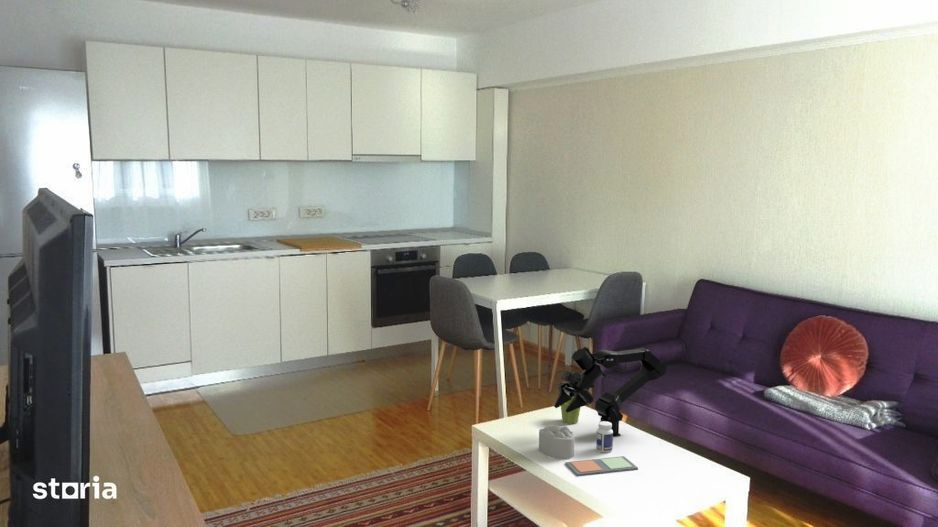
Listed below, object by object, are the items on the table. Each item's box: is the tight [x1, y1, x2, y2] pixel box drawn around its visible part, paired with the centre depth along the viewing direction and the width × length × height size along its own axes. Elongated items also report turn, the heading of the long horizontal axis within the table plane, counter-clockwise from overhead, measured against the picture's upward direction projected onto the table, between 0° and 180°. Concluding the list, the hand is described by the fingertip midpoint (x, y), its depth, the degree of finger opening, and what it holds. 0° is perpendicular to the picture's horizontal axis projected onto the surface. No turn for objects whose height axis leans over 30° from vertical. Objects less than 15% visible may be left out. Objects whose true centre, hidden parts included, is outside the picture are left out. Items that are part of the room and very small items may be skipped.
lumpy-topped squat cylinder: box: [538, 424, 575, 460], centre depth 251 cm, size 10×13×9 cm
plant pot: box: [560, 397, 581, 425], centre depth 282 cm, size 9×9×9 cm
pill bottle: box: [595, 421, 614, 454], centre depth 254 cm, size 6×6×10 cm
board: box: [564, 455, 639, 477], centre depth 240 cm, size 22×10×1 cm, turn 106°
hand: (560, 409), depth 259 cm, fingers open, 9 cm apart
